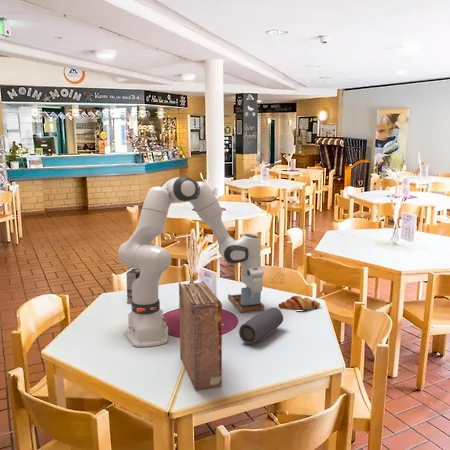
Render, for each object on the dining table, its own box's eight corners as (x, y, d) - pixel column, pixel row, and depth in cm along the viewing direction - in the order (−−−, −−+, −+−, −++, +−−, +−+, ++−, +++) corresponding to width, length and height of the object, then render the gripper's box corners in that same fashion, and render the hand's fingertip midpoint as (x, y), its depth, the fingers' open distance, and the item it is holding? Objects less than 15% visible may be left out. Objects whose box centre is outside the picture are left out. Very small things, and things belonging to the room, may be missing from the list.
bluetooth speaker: (265, 325, 209) (266, 304, 207) (284, 330, 204) (284, 308, 202) (237, 343, 191) (237, 320, 189) (256, 349, 186) (257, 325, 184)
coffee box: (139, 304, 235) (137, 273, 232) (127, 303, 236) (125, 272, 233) (145, 298, 243) (144, 268, 240) (134, 297, 245) (132, 267, 242)
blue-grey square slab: (260, 303, 224) (260, 287, 223) (242, 305, 222) (242, 289, 220) (258, 301, 226) (258, 286, 225) (241, 303, 224) (241, 287, 222)
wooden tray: (264, 312, 224) (264, 305, 223) (240, 315, 220) (240, 308, 220) (250, 298, 243) (250, 292, 242) (228, 300, 239) (228, 294, 239)
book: (180, 357, 179) (178, 282, 173) (203, 353, 182) (202, 279, 176) (195, 391, 155) (194, 305, 150) (221, 386, 158) (221, 302, 152)
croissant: (317, 312, 234) (315, 296, 236) (324, 309, 224) (322, 293, 227) (276, 314, 230) (275, 297, 233) (282, 311, 221) (280, 294, 223)
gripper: (237, 262, 229) (237, 289, 232) (252, 274, 210) (251, 303, 213) (249, 261, 231) (249, 288, 234) (265, 273, 212) (264, 302, 215)
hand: (250, 295), depth 223 cm, fingers closed on blue-grey square slab, 2 cm apart
